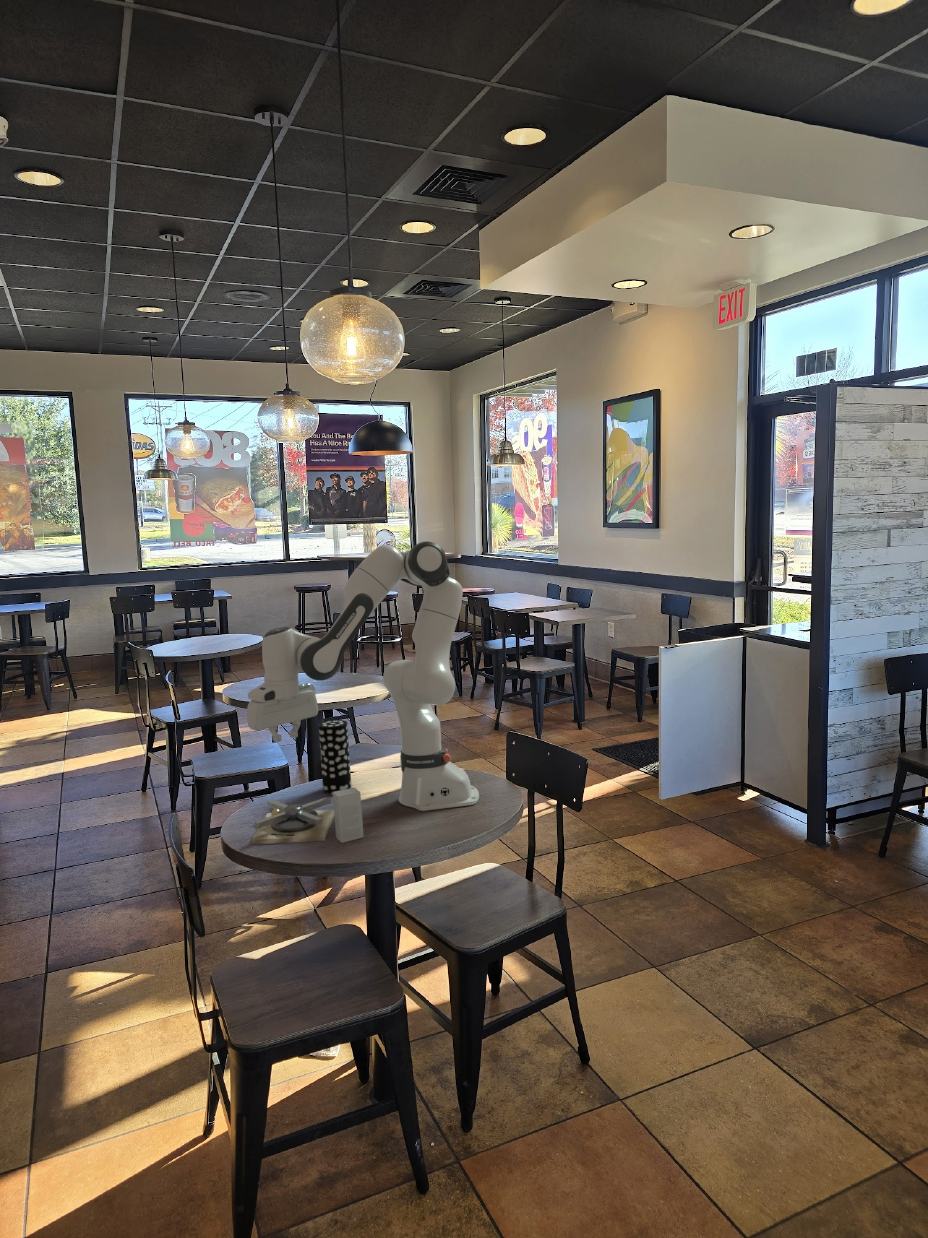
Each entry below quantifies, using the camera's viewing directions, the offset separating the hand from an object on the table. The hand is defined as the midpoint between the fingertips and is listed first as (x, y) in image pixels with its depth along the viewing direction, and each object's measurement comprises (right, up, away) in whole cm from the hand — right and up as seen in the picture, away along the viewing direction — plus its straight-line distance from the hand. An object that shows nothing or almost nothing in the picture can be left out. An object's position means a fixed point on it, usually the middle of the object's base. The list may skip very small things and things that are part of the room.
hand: (285, 739), depth 214 cm
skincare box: (+19, -23, -15) cm, 33 cm away
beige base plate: (+4, -22, -7) cm, 24 cm away
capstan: (+4, -21, -7) cm, 22 cm away
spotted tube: (+10, -18, +22) cm, 30 cm away
